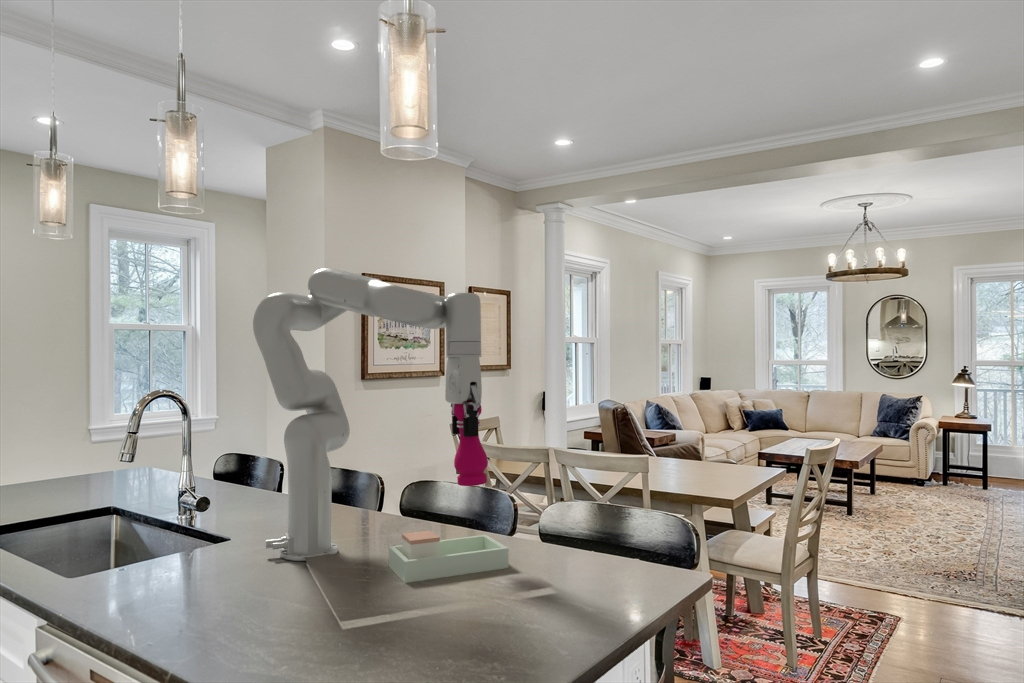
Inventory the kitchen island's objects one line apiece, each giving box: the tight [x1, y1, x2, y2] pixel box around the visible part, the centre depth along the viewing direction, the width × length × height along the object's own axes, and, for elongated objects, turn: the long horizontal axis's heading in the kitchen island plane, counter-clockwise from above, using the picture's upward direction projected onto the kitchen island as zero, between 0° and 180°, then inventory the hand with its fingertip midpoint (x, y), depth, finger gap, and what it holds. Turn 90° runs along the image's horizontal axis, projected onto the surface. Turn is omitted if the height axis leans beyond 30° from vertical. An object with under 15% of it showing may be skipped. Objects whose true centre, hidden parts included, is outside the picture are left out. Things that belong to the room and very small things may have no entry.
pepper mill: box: [453, 400, 489, 487], centre depth 144 cm, size 7×7×20 cm
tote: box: [388, 534, 510, 584], centre depth 139 cm, size 22×12×5 cm, turn 115°
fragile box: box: [401, 530, 441, 560], centre depth 137 cm, size 6×6×7 cm
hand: (465, 434), depth 144 cm, fingers closed on pepper mill, 5 cm apart
